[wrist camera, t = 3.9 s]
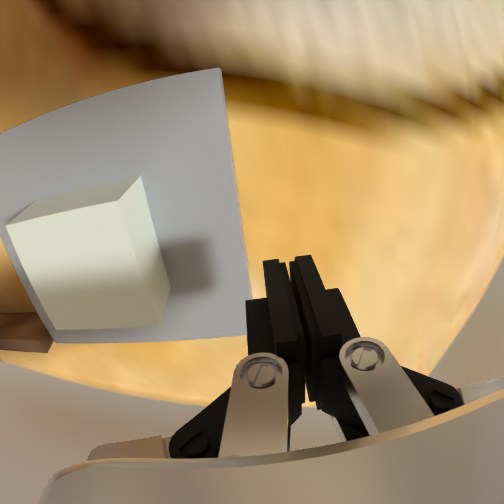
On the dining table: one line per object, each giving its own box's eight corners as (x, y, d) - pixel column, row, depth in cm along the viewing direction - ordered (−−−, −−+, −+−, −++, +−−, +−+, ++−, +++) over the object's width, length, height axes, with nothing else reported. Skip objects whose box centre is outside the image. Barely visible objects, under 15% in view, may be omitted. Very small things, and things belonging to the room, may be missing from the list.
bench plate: (221, 69, 13) (218, 67, 11) (254, 311, 20) (256, 333, 18) (-8, 139, 13) (-29, 148, 11) (65, 324, 20) (55, 342, 18)
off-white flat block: (140, 175, 13) (118, 200, 11) (171, 286, 16) (160, 326, 14) (37, 199, 13) (5, 225, 11) (76, 294, 16) (56, 329, 14)
